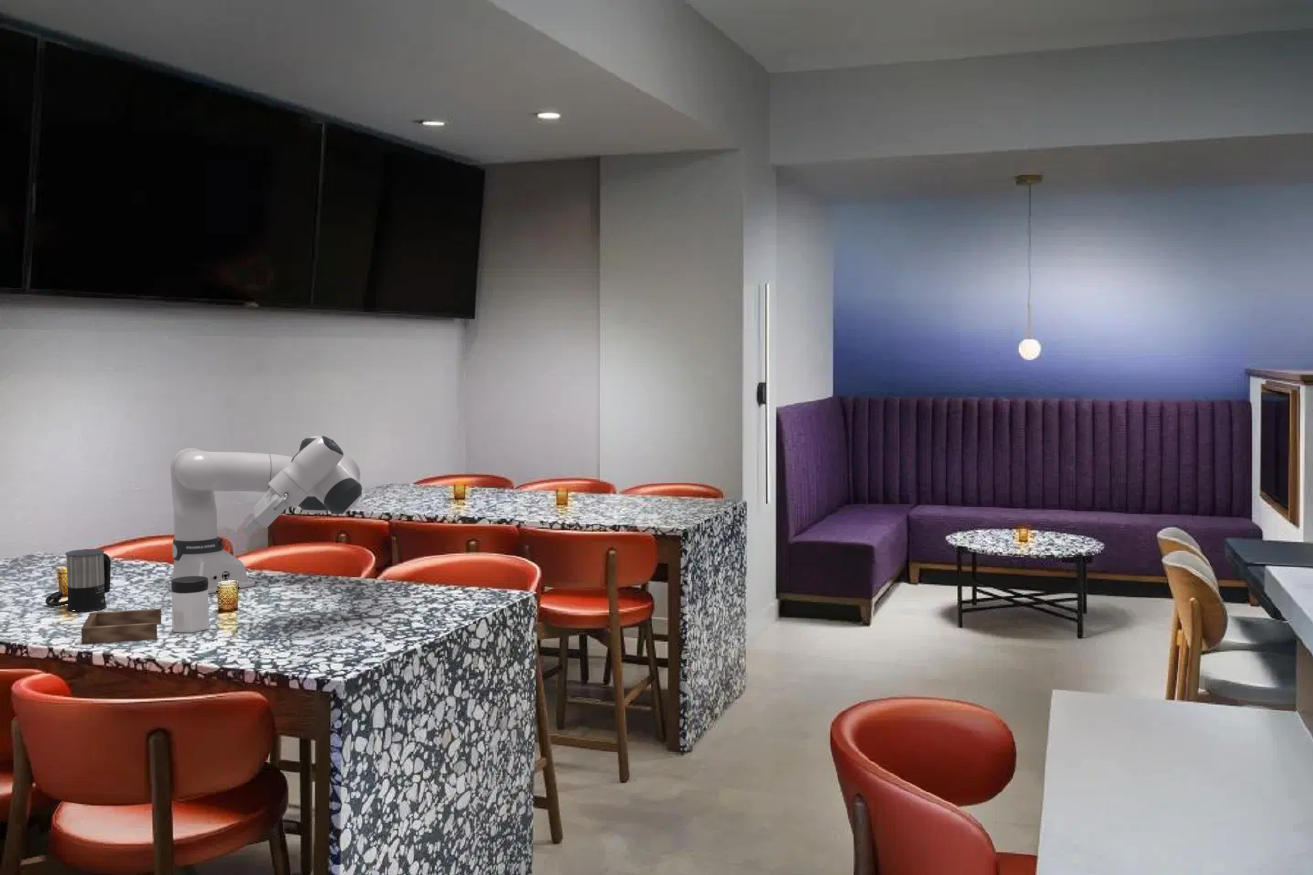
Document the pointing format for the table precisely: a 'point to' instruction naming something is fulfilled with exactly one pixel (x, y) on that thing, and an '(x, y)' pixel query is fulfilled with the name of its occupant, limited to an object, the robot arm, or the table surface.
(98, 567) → the milk frother
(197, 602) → the jar
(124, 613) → the brown square open piece
